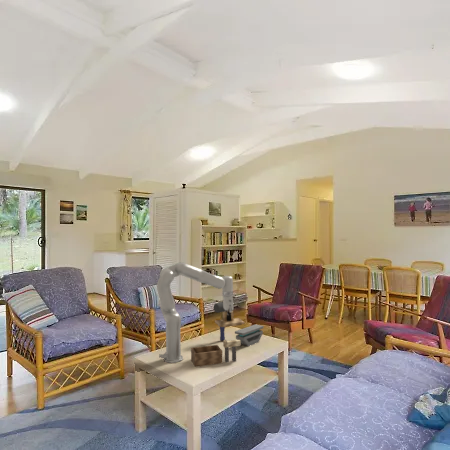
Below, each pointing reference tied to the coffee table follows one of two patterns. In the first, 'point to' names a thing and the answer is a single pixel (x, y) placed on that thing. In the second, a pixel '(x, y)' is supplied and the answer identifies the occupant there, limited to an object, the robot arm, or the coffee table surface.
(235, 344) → the pale wooden bar
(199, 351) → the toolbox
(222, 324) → the lid
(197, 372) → the coffee table surface
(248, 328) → the sharpening stone
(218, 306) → the rubber mallet
